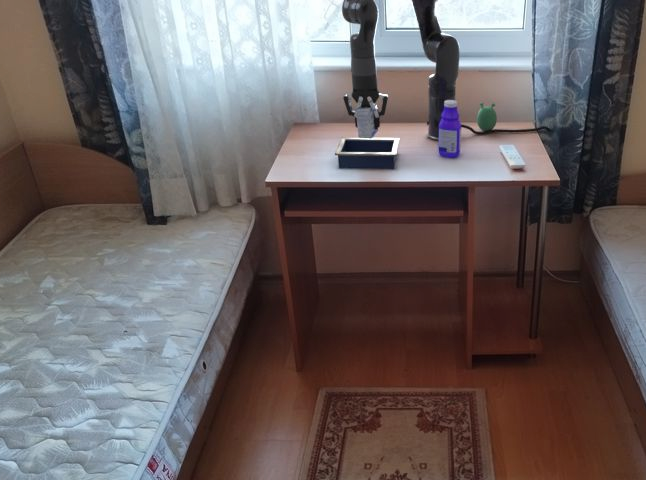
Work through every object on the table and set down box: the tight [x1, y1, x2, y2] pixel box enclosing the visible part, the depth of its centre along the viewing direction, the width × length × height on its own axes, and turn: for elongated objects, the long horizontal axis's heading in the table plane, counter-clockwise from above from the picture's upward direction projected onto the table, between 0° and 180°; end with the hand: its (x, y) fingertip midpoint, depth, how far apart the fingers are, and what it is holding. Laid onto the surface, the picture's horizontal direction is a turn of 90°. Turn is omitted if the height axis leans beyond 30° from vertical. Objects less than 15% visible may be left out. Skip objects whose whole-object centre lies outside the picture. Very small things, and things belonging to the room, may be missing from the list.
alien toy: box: [476, 101, 498, 132], centre depth 237 cm, size 7×8×10 cm
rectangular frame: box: [334, 137, 400, 170], centre depth 213 cm, size 19×15×5 cm
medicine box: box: [355, 103, 379, 139], centre depth 207 cm, size 8×4×9 cm, turn 169°
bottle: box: [437, 99, 462, 159], centre depth 214 cm, size 7×6×17 cm
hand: (367, 128), depth 209 cm, fingers closed on medicine box, 5 cm apart
